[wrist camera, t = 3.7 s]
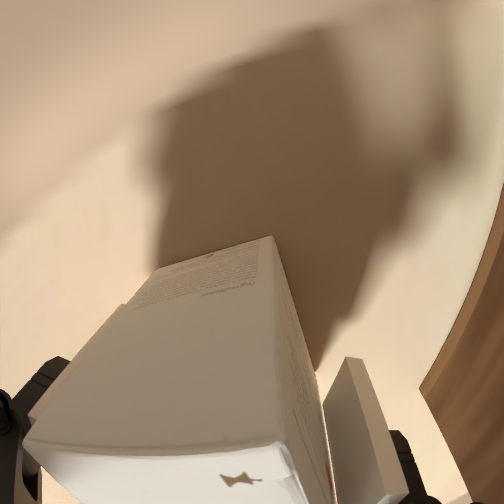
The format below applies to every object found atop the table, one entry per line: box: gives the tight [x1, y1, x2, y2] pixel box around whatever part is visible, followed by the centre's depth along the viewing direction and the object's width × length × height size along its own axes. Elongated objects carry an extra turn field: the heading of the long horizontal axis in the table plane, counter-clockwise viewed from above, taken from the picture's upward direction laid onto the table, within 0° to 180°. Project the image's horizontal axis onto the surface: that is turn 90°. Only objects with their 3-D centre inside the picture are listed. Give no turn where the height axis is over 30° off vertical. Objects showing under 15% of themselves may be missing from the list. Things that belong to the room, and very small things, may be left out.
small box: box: [22, 235, 336, 504], centre depth 10 cm, size 8×6×10 cm
